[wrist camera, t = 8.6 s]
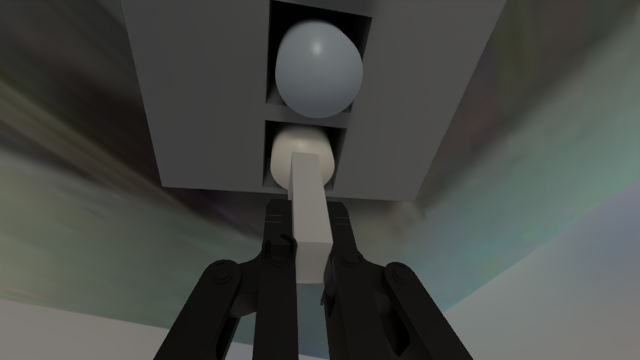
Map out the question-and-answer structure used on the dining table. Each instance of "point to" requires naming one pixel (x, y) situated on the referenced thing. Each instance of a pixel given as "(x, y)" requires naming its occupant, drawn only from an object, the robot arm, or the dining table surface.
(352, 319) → the robot arm
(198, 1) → the console
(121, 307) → the dining table surface
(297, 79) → the button slate
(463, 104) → the dining table surface
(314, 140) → the button ivory
